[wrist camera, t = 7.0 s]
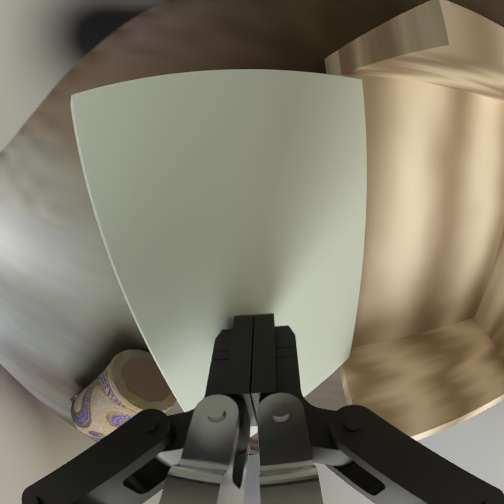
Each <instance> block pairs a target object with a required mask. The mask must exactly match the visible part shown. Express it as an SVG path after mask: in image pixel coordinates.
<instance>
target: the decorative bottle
mask: <svg viewBox="0 0 504 504" xmlns="http://www.w3.org/2000/svg"><path fill="white" fill-rule="evenodd" d="M77 396H78V397H77ZM74 398H75V400H74ZM72 400H74V401H72ZM176 400H177V399H176V398H175V396H174V394H173V393H172V391H171V389H170V387H169V386H168V384H167V382H166V380H165V379H164V377H163V375H162V373H161V371H160V369H159V368H158V366H157V364H156V362H155V360H154V358H153V356H152V354H151V353H149V352H146V351H144V350H139V349H137V350H125V351H123V352H121V353H119V354H117V355H116V356H115V357H114V358H113V359H112V361H111V363H109V365H108V366H107V368H106V369H105V370H104V371H103V372H102V373H100V374H99V376H98V377H97V378H96V379H95V380H94V381H93V382H92V383H91V384H90V385H89V386H88V387H86V386H85V387H84V388H83V389H82V390H81V391H79V392H78V393H77V394H75V395H74V397H73V398H71V401H72V402H73V403H72V407H71V416H72V419H73V421H74V423H75V425H76V429H78V430H80V431H82V432H84V433H86V434H87V435H90V436H93V437H96V438H104V437H106V436H107V435H108V434H110V433H111V432H113V431H114V430H115V429H117V428H118V427H120V426H121V425H122V424H124V423H125V422H126V421H128V420H129V419H131V418H132V417H133V416H135V415H136V414H137V413H139V412H140V411H143V410H146V409H157V410H160V411H162V412H164V413H165V412H166V411H168V410H169V409H170V408H172V407H173V406H174V405H175V403H176Z"/></svg>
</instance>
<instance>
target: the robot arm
mask: <svg viewBox="0 0 504 504" xmlns="http://www.w3.org/2000/svg"><path fill="white" fill-rule="evenodd" d="M257 425H258V441H259V456H260V476H259V483H260V499H261V504H323V500H322V495H321V488H320V482H319V476H318V472H317V469H316V467H315V465H314V462H315V463H321V464H325V465H326V466H327V467H328V468H329V469H331V470H332V471H333V472H334V473H335V474H337V475H338V476H339V477H340V478H342V479H343V480H344V481H345V482H347V483H348V484H349V485H350V486H352V487H353V488H354V489H356V490H357V491H359V492H360V493H361V494H363V495H364V496H365V497H367V498H368V499H369V500H371V501H372V502H373V503H375V504H504V494H503V492H502V491H501V490H500V489H498V488H496V487H494V486H492V485H490V484H489V483H486V482H485V481H483V480H481V479H479V478H477V477H476V476H474V475H472V474H470V473H468V472H467V471H465V470H463V469H461V468H460V467H458V466H456V465H455V464H453V463H451V462H450V461H448V460H446V459H445V458H443V457H441V456H439V455H438V454H436V453H435V452H433V451H431V450H430V449H428V448H427V447H425V446H423V445H422V444H420V443H419V442H417V441H416V440H414V439H413V438H411V437H410V436H408V435H406V434H405V433H403V432H402V431H400V430H399V429H397V428H396V427H394V426H393V425H391V424H390V423H388V422H387V421H385V420H384V419H383V418H381V417H380V416H378V415H377V414H375V413H374V412H372V411H371V410H370V409H368V408H366V407H364V406H361V405H348V406H345V407H342V408H340V409H339V410H337V411H333V410H326V409H321V408H317V407H314V406H312V405H311V404H309V403H308V402H307V401H306V400H305V399H304V397H303V395H302V392H301V385H300V375H299V365H298V356H297V347H296V337H295V334H294V332H293V331H292V329H291V328H290V327H289V325H287V326H275V319H274V313H267V314H255V316H254V315H237V316H235V317H234V324H233V329H223V330H221V332H220V333H219V334H218V336H217V337H216V339H215V342H214V347H213V353H212V358H211V364H210V369H209V375H208V380H207V386H206V392H205V396H204V398H203V399H202V400H201V401H200V402H199V403H198V404H197V405H196V407H195V408H194V409H192V410H190V411H187V412H184V413H179V414H175V415H170V416H167V415H166V414H165V413H164V412H162V411H160V410H157V409H146V410H143V411H140V412H139V413H137V414H136V415H135V416H133V417H132V418H131V419H129V420H128V421H126V422H125V423H124V424H122V425H121V426H120V427H118V428H117V429H115V430H114V431H113V432H111V433H110V434H108V435H107V436H106V437H104V438H103V439H101V440H100V441H99V442H97V443H96V444H94V445H93V446H91V447H90V448H88V449H87V450H85V451H84V452H83V453H81V454H80V455H78V456H77V457H75V458H74V459H72V460H71V461H69V462H67V463H66V464H64V465H63V466H61V467H60V468H58V469H57V470H55V471H53V472H52V473H50V474H49V475H47V476H45V477H44V478H42V479H40V480H39V481H37V482H36V483H34V484H32V485H31V486H29V487H27V488H26V489H25V490H24V492H23V494H22V504H142V503H144V502H145V501H147V500H148V499H150V498H151V497H152V496H154V495H155V494H156V493H158V492H159V491H160V490H162V489H163V491H162V495H161V499H160V502H159V504H244V482H245V476H246V468H247V462H248V455H249V448H250V442H249V441H250V426H257Z"/></svg>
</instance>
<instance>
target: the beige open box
mask: <svg viewBox="0 0 504 504" xmlns="http://www.w3.org/2000/svg"><path fill="white" fill-rule="evenodd" d="M324 61H325V69H326V74H330V75H337V76H344V77H350V78H356V79H362V84H363V95H364V107H365V123H366V147H367V198H366V224H365V240H364V253H363V265H362V275H361V284H360V292H359V300H358V308H357V315H356V322H355V328H354V334H353V340H352V346H351V351H350V357H349V358H348V359H347V360H346V361H345V362H344V363H343V364H342V365H341V366H340V367H339V368H338V370H339V373H340V377H341V381H342V385H343V389H344V393H345V397H346V401H347V405H361V406H364V407H366V408H368V409H370V410H371V411H372V412H374V413H375V414H377V415H378V416H380V417H381V418H383V419H384V420H385V421H387V422H388V423H390V424H391V425H393V426H394V427H396V428H397V429H399V430H400V431H402V432H403V433H405V434H406V435H408V436H410V437H411V438H413V439H414V440H416V441H417V440H419V439H422V438H425V437H427V436H430V435H432V434H435V433H437V432H440V431H442V430H445V429H447V428H449V427H452V426H454V425H456V424H458V423H460V422H462V421H464V420H466V419H469V418H470V417H473V416H474V415H476V414H478V413H480V412H482V411H484V410H485V409H488V408H489V407H491V406H493V405H495V404H497V403H498V402H500V401H502V400H503V399H504V28H503V27H502V26H500V25H498V24H496V23H495V22H493V21H491V20H489V19H487V18H485V17H483V16H481V15H479V14H477V13H475V12H473V11H471V10H469V9H466V8H464V7H462V6H459V5H457V4H455V3H452V2H450V1H447V0H430V1H428V2H426V3H423V4H421V5H419V6H417V7H415V8H413V9H411V10H408V11H406V12H404V13H402V14H400V15H398V16H396V17H394V18H393V19H391V20H389V21H387V22H385V23H383V24H381V25H379V26H378V27H376V28H374V29H372V30H370V31H369V32H367V33H365V34H363V35H362V36H360V37H358V38H357V39H355V40H353V41H352V42H350V43H348V44H347V45H345V46H344V47H342V48H340V49H339V50H337V51H336V52H334V53H333V54H331V55H329V56H328V57H326V58H325V59H324Z"/></svg>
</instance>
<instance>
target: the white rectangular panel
mask: <svg viewBox="0 0 504 504" xmlns="http://www.w3.org/2000/svg"><path fill="white" fill-rule="evenodd" d="M71 111H72V118H73V124H74V130H75V135H76V141H77V146H78V151H79V155H80V160H81V164H82V169H83V173H84V177H85V181H86V185H87V189H88V192H89V196H90V200H91V203H92V207H93V210H94V213H95V217H96V220H97V223H98V226H99V230H100V233H101V236H102V239H103V242H104V244H105V247H106V250H107V253H108V256H109V259H110V261H111V264H112V267H113V269H114V272H115V274H116V277H117V280H118V282H119V285H120V287H121V289H122V292H123V294H124V297H125V299H126V301H127V304H128V306H129V308H130V311H131V313H132V315H133V317H134V319H135V322H136V324H137V326H138V328H139V330H140V332H141V334H142V336H143V338H144V340H145V342H146V344H147V346H148V348H149V350H150V352H151V354H152V356H153V358H154V360H155V362H156V364H157V366H158V368H159V369H160V371H161V373H162V375H163V377H164V379H165V380H166V382H167V384H168V386H169V387H170V389H171V391H172V393H173V394H174V396H175V398H176V399H177V401H178V403H179V404H180V406H181V407H182V409H183V411H184V412H187V411H190V410H192V409H194V408H195V407H196V405H197V404H198V403H199V402H200V401H201V400H202V399H203V398H204V396H205V392H206V386H207V380H208V375H209V369H210V364H211V358H212V353H213V347H214V342H215V339H216V337H217V336H218V334H219V333H220V332H221V330H223V329H233V324H234V317H235V316H237V315H254V316H255V314H267V313H274V319H275V326H287V325H289V327H290V328H291V329H292V331H293V332H294V334H295V337H296V347H297V356H298V365H299V375H300V385H301V392H302V395H303V397H305V396H306V395H307V394H309V393H310V392H311V391H312V390H313V389H315V388H316V387H317V386H318V385H319V384H320V383H322V382H323V381H324V380H325V379H326V378H327V377H328V376H330V375H331V374H332V373H333V372H334V371H335V370H336V369H337V368H339V367H340V366H341V365H342V364H343V363H344V362H345V361H346V360H347V359H348V358H349V357H350V351H351V346H352V340H353V334H354V328H355V322H356V315H357V308H358V300H359V292H360V284H361V275H362V265H363V253H364V240H365V224H366V198H367V147H366V123H365V107H364V95H363V84H362V79H356V78H350V77H344V76H337V75H330V74H321V73H312V72H301V71H288V70H265V69H232V70H209V71H195V72H185V73H175V74H167V75H160V76H153V77H147V78H141V79H135V80H130V81H125V82H120V83H116V84H111V85H107V86H103V87H99V88H95V89H91V90H87V91H84V92H80V93H77V94H73V95H72V97H71ZM257 432H258V425H257V426H250V437H251V436H253V435H254V434H255V433H257Z"/></svg>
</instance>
